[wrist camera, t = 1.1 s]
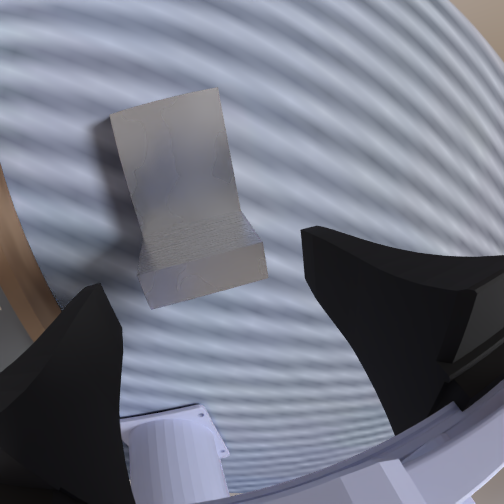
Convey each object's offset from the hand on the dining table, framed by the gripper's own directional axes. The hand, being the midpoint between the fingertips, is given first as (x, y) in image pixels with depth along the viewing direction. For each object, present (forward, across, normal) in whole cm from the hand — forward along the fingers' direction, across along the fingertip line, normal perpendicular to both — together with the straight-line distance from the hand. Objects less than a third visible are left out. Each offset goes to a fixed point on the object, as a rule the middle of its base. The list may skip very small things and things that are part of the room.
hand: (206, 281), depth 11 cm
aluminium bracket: (+5, 0, -3) cm, 6 cm away
